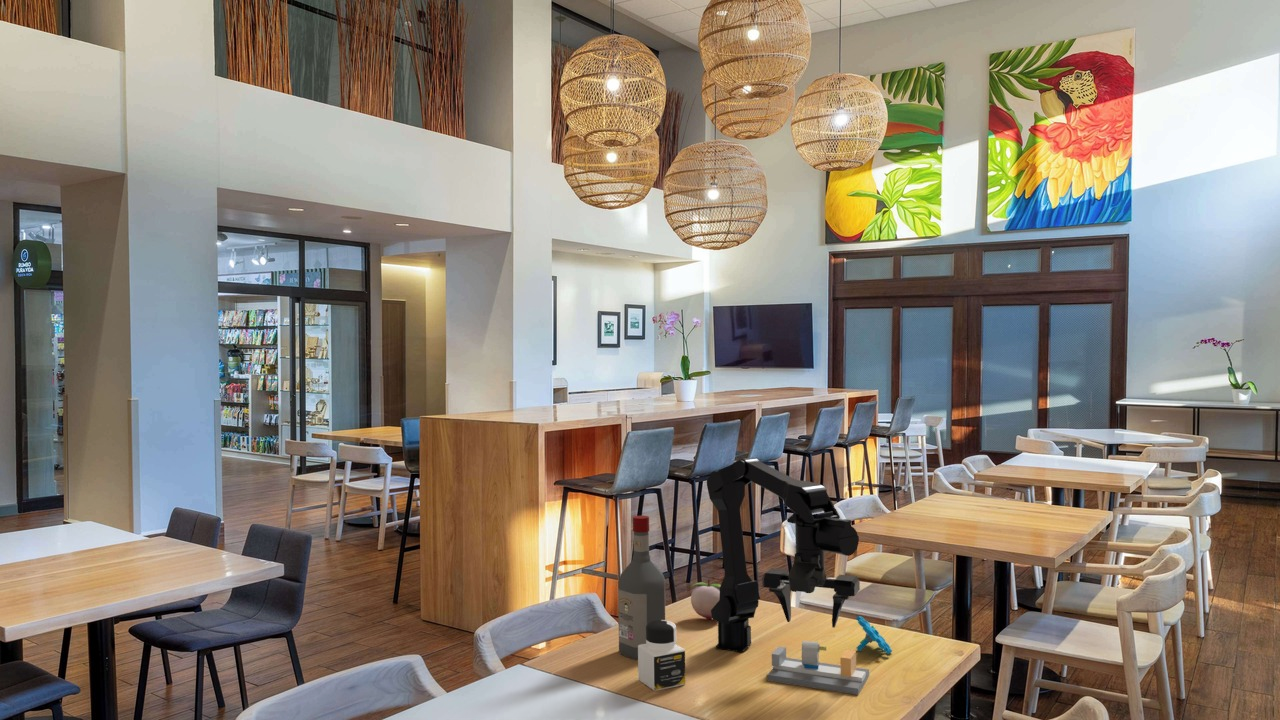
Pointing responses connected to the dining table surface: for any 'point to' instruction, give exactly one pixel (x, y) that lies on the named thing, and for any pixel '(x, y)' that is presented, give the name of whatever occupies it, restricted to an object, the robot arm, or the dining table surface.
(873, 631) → the gear
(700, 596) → the decorative fruit
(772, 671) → the rail
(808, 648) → the electric motor
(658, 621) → the medicine bottle
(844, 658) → the tall tan wooden block
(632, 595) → the liquor
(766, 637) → the dining table surface
